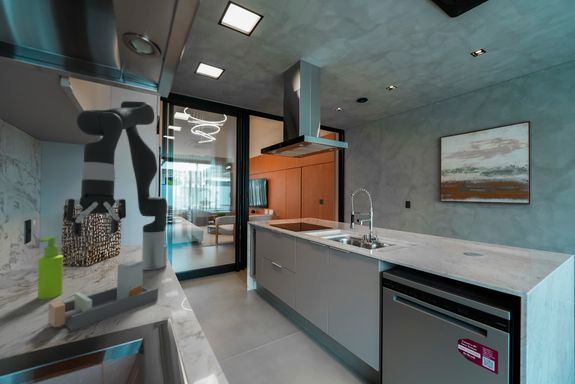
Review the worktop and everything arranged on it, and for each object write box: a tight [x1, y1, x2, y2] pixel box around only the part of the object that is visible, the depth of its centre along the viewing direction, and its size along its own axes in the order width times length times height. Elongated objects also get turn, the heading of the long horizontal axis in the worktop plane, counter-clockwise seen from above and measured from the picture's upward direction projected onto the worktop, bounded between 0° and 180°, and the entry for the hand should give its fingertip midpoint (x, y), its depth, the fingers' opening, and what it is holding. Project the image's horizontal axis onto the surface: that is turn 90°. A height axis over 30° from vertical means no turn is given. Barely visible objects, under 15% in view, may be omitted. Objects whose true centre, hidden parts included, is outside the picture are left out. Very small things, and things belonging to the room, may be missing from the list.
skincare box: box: [116, 259, 144, 301], centre depth 77 cm, size 6×4×12 cm
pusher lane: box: [63, 285, 159, 332], centre depth 73 cm, size 22×12×4 cm, turn 148°
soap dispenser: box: [37, 236, 64, 300], centre depth 80 cm, size 6×7×20 cm
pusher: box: [47, 291, 92, 328], centre depth 64 cm, size 7×10×5 cm
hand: (96, 234), depth 69 cm, fingers open, 8 cm apart
